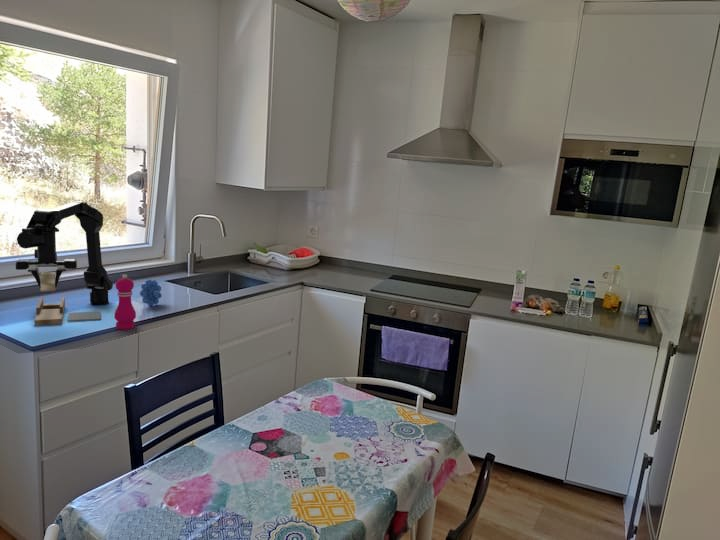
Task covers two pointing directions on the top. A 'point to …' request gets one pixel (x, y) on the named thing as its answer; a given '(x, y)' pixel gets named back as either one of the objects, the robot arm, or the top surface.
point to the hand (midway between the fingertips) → (48, 287)
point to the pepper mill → (125, 304)
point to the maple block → (47, 281)
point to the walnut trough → (49, 313)
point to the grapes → (150, 292)
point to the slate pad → (84, 316)
